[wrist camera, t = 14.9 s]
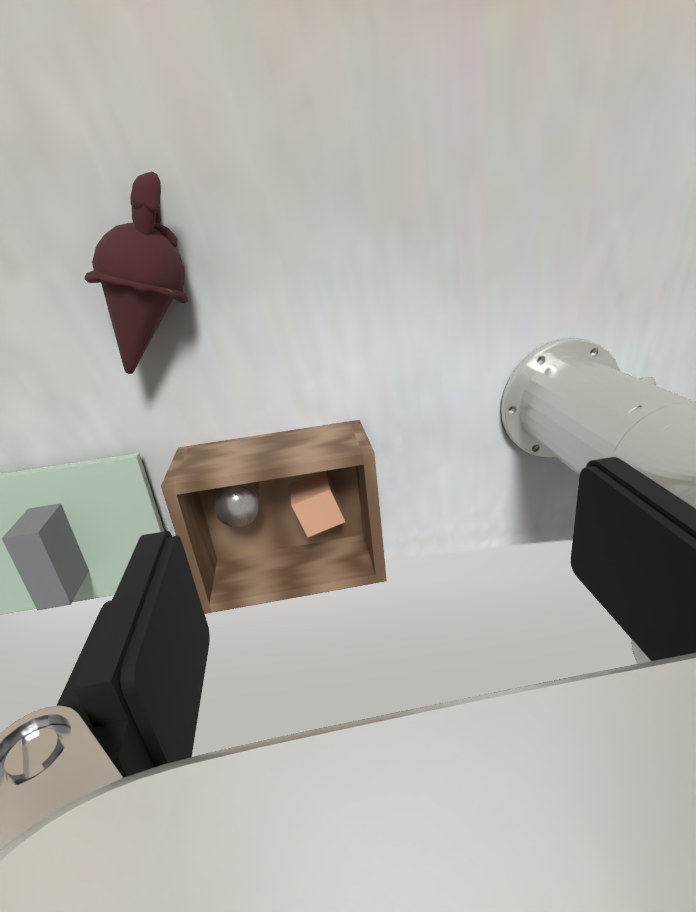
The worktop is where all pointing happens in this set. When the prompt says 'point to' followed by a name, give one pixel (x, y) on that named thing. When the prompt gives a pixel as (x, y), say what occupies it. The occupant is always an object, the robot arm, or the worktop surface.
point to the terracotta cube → (316, 504)
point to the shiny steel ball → (237, 504)
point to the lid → (71, 530)
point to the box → (277, 516)
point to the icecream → (138, 272)
